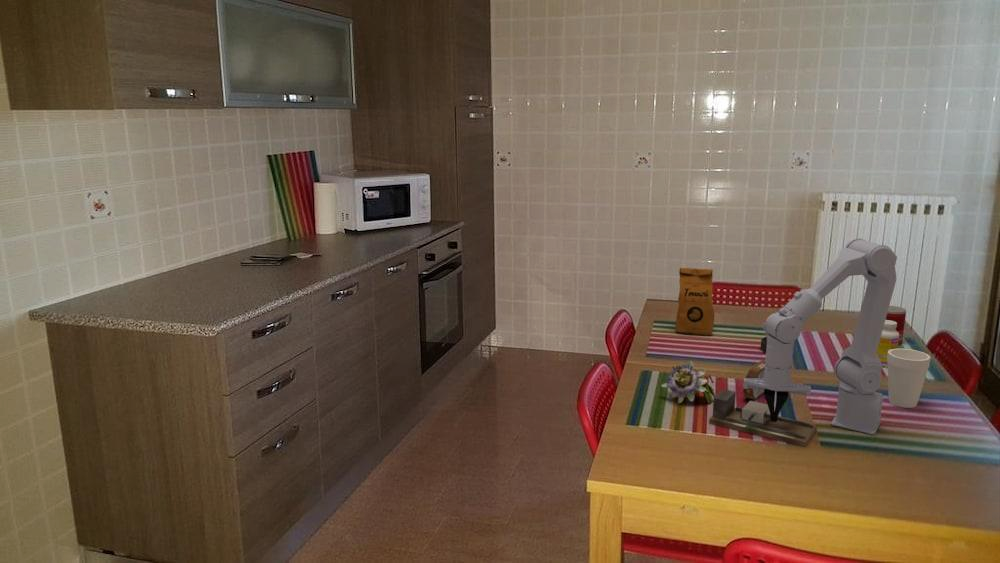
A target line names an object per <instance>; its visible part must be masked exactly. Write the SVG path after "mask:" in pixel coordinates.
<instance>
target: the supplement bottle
mask: <svg viewBox="0 0 1000 563" xmlns="http://www.w3.org/2000/svg"><path fill="white" fill-rule="evenodd" d="M896 327H897V323H896V322H895V321H891V320H885V323H884V327H883V330H882V334H881V338H880V341H879V345H878V349H877V352H876V353H877V355H878V357H879V359H880V361H881V363H882V368H888V362H887V353H888V351H889V350H890V349H897V348H898V347H899V345H898V342H899V333H898V332H897V331H896V330H895V328H896ZM898 349H899V348H898Z"/></svg>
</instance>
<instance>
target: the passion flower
mask: <svg viewBox="0 0 1000 563" xmlns="http://www.w3.org/2000/svg"><path fill="white" fill-rule="evenodd" d="M671 367H672V370H671V371H670V372H669V375H670V377H668V378H667V380H666V381H665V382H663V383H661V385H660V387H662V388H663V389H666V388H669V389H670V390H671V393H670V394H671V395H670V396H671V397H670V398H671V399H677V404H679V405H680V404H682V403H683V402H684V400H685V398H687V399H688V401H689V402H691V403H693V402H694V401H695V399H696V393H697V392H699V393H702V394H703V396H704V397H705V399H706V402H707V403H708V404H712V402H713V398H714V397H716V394H715V392H714V388H712V386H711V385H710V384H708V380H707V379H706V377H708V378H709V379H710V382H711V384H713V383H714V378H713V377H712V375H711V374H707V370H706V369H705V368H704V369H698V370H697V369H695V368H694V362H693V361H692V360H689V361H688V362H687V363H685V364H683V365H679V364H676V365H675V366H674V365H672V366H671ZM705 374H707V375H705ZM712 396H713V397H712Z"/></svg>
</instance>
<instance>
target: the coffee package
mask: <svg viewBox="0 0 1000 563" xmlns="http://www.w3.org/2000/svg"><path fill="white" fill-rule="evenodd" d="M678 272H679V273H678V275H679V293H678V298H677V299H678V300H677V302H678V308H677V314H676V319H675V331H676V332H678V333H683V334H690V333H692V334H693V335H697V334H698V336H699V335H700V336H709V335H710V336H711V333H712V332H713V330H714V326H715V310H714V307H713V288H714V287H713V285H714V284H713V283H714V282H713V276H714V275H713V268H708V269H707V268H692V267H691V268H690V267H680V268H679V271H678Z"/></svg>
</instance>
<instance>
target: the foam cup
mask: <svg viewBox="0 0 1000 563" xmlns="http://www.w3.org/2000/svg"><path fill="white" fill-rule="evenodd" d="M931 358H932V357H931V356H930V354H927V353H926V352H923V351H920V350H916V349H909V348H897V349H890V350H889V351H888V353H887V362H888V367H887V383H888V384H887V385H888V386H887V388H888V389H887V392H888V401H889V403H890V404H891V405H893V406H897V407H901V408H904V409H905V408H907V409H910V408H911V409H912V408H916V407H917V406H918V403H919V400H920V396H921V393H922V391H923V390H922V389H923V386H924V384H925V380H926V376H927V373H928V371H929V368H930V365H931Z"/></svg>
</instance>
